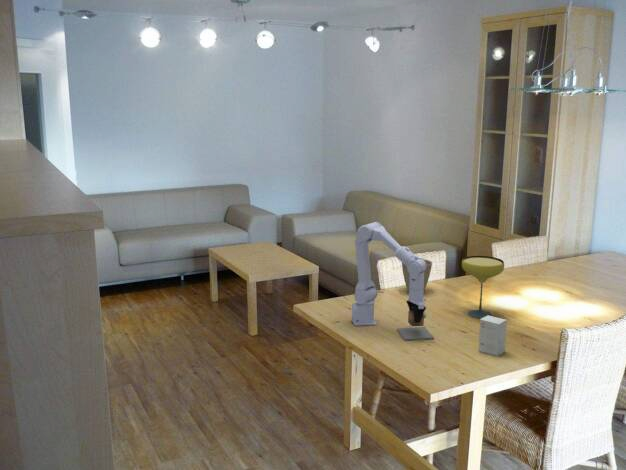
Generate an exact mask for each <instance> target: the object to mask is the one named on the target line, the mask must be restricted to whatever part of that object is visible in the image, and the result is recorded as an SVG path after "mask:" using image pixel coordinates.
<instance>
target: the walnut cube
mask: <svg viewBox="0 0 626 470" xmlns="http://www.w3.org/2000/svg"><path fill="white" fill-rule="evenodd" d="M407 313H408V319H407V321H408V322H407V323H408V324H409V325H410V326H411V328H412V327H425V326H424V323H425V317H424V314H423V315H422V318H421V322H420V323H415V321H414V313H413V310H412V311H409V310H408V312H407Z"/></svg>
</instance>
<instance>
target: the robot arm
mask: <svg viewBox="0 0 626 470" xmlns="http://www.w3.org/2000/svg"><path fill="white" fill-rule="evenodd" d="M356 231H357V233H356V237H355V240H354V246H355V256H356V267H357V276H358V277H357V278H358V279H357V280H358V282H357V284H356V286H355V289H354V290H355V293H354V295H353V297H354V300H355V302H354V303H352V304H351V319H350V320H351V321H352V323H353V326H356V327H357V326H358V327H359V326H373V325H374V326H376V325H377V322H376V320H375V300H376V298H378V290H377V288H376V283H375V282H374V281H373V280H372V274H371V273H372V272H371V262H370V261H371V260H370V252H369V251H370V250H369V244H371V242H372V241H380V242H382V243H383V244H384V245H385V246H387V247H388V248H389V249H390V250H392V251H393V252H394V254H395V258H397V259H398V260H399V261H400V262H401V264H402V263H403V264H404V265H405V266H407V270H408V272H409V274H410V286H409V293H408V300H406V301H405V302H406V304H407V307H408V309H409V310H408V312H409V311H412V310H413V313H414V321H415V323H420V322H421V318H422V315H423V313H424V312H425V311H426V310H427V307H426V306H425V304H424V301H427V298H426V297H424V292H425V290H424V271H425V270H426V268H427V263H426V261H425V260H426V259H425V260H424V258H423V257H419V256H417V255H416V254H414V253H413V252H412V251H411V249H410V248H409V246H405V245H404V246H402V245H400V244H399V243H398V242H397V240H396V239H395V238H393V236H391V235H390V233H388V231H387V230H386V228H385V227H384V225H382V224H381V223H380V222H378V221H373V222H370V223H367V224H363V225H361V226H360V227H358V229H357V230H356Z"/></svg>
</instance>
